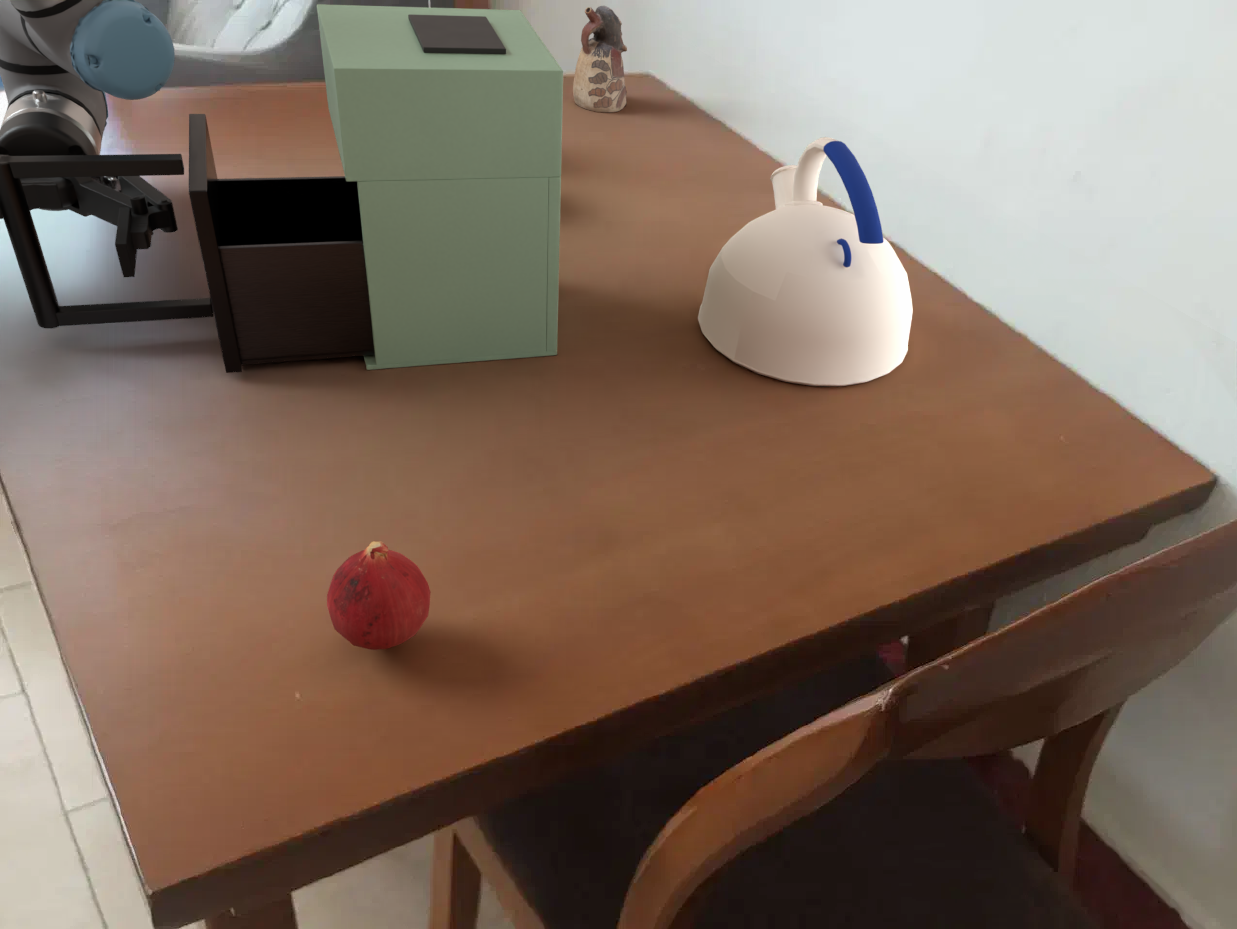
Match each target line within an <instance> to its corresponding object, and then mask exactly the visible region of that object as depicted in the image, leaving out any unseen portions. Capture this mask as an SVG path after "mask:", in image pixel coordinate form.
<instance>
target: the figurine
mask: <svg viewBox="0 0 1237 929" xmlns="http://www.w3.org/2000/svg"><path fill="white" fill-rule="evenodd" d="M584 13H585V15H586V17H587V19H588V20H589V21H588V22H587V23H586V24H585V25H584V27H583V28H582V30H581V36H580V42H581V46H582V47H581V49H580V52H579V54H578V57H577V61H576V65H575V70H574V78H573V83H572V93H573V94H572V95H573V96H572V97H573V101H574V103H575V104H576V105H577V106H579V107H581V108H582V109H585V110H588V111H592V112H597V113H616V112H620V111H621V110H623V109H624V108H625V106H627V94H628V90H627V88H626V79H625V69H624V68H625V67H624V61H623V56H622V54H623V53H626V52H628V47H627V45H625V44H624V41H623V31H622V26H623V23H622V21H621V19H620V18H619V16H618V15H617V14H616V13H615V11H614V10H613V9H612V8H610V7H609V6H607V5H598V6H597V7H596V9H595V10H594V9H593V8H592V6H588V7H586V8H585V9H584ZM592 34H593V37H591V35H592ZM590 37H591V38H590Z"/></svg>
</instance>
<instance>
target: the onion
mask: <svg viewBox="0 0 1237 929" xmlns="http://www.w3.org/2000/svg"><path fill="white" fill-rule="evenodd" d="M431 593H432V592H431V589H430V586H429V582H428V581H427V579H426V577H425V576H424V574H423V572H422V570H421V569H420V567H419V566H418V565H417V564H416V563H415V562H414V561H413V560H411V559H410V558H408V557H407V556H405V555H404V554H403V553H401V552H398V551H395V550H391V549H389V547H388V546H387V545H386V544H385V543H384V542H383V541H382V540H379V541H374V540H373V541H371V542H370V543H369V545H368V546H366V547H365V549H363V550H360V551H358V552H356V553H354V554H352V555H350V556H349V557H348V558H346V559H345V561H343V563H342V564H341V565H340V566H338V568H337V569H336V570H335V572H334V574H333V576H332V578H331V581H330V584H329V587H328V591H327V593H326V607H327V611H328V613H329V617H330V620H331V623H332V625H333V628H334V631H336V632H337V633H338V634H339V635H341V637H343V638H344V639H345V640H346V641H348V642H349V643H350V644H351V645H352V646H354V647H359V648H362V649H367V650H373V651H375V650H376V651H377V650H387V649H390V648H393V647H396V646H399V645H402V644H404V643H406V642H407V641H408V640H410V639H411V638H414V637H415V636H416V634H417V633H418V632H419V630H421V628H422V626H423V624H424V623H425V622H426V620H427V618H428V617H429V613H430V605H431Z"/></svg>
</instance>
